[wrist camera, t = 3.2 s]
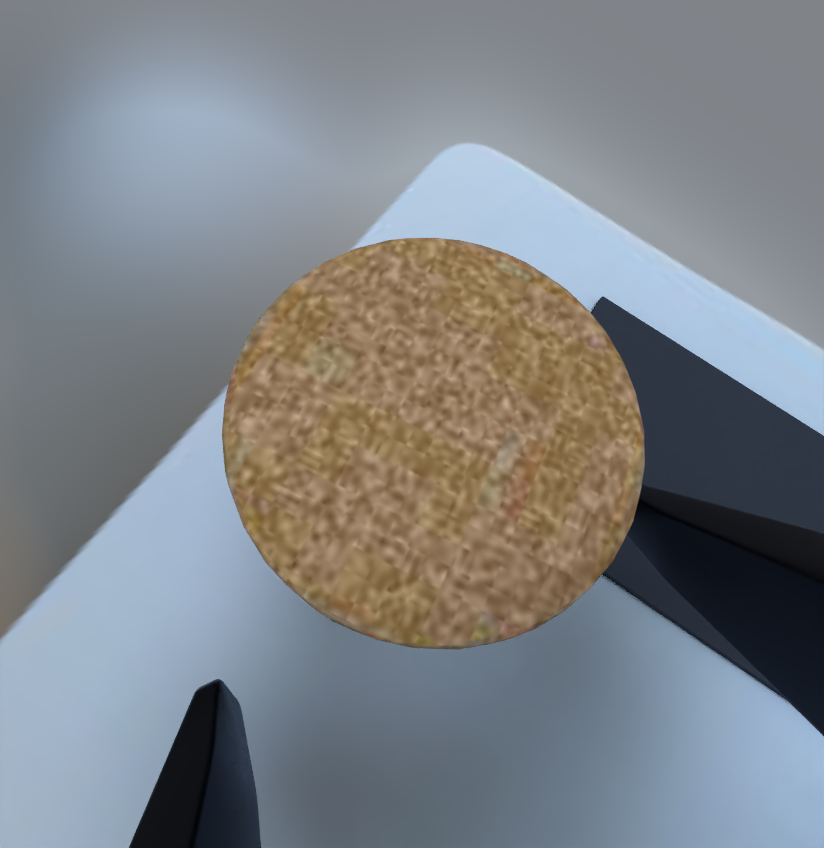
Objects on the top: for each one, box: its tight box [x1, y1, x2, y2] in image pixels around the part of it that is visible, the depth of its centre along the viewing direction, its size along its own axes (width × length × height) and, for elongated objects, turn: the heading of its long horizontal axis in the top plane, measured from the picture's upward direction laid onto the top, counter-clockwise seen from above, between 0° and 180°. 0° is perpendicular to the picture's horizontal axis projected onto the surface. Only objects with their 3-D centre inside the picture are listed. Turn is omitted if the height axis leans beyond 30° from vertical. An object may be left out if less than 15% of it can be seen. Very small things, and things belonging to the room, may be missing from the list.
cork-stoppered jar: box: [222, 238, 645, 649], centre depth 12 cm, size 6×6×15 cm
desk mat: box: [591, 297, 824, 700], centre depth 21 cm, size 20×12×1 cm, turn 56°
